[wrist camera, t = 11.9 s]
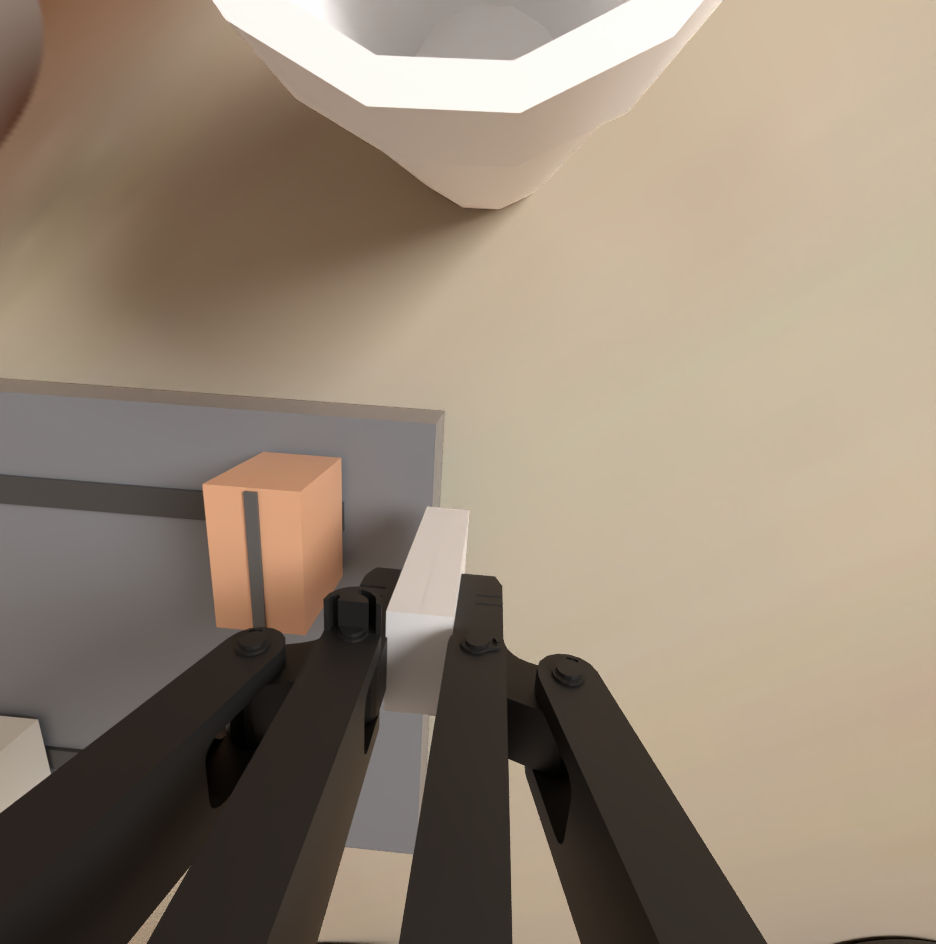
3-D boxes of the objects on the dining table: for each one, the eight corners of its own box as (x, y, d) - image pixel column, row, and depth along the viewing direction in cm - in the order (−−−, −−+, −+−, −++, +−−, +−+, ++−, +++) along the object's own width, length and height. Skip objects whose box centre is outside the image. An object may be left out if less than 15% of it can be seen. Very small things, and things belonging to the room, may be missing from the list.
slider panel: (425, 799, 27) (415, 858, 24) (-19, 752, 28) (-81, 804, 25) (444, 410, 21) (435, 425, 18) (-128, 368, 22) (-229, 375, 19)
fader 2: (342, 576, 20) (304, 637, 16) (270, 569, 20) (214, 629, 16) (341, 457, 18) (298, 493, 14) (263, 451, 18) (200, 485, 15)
